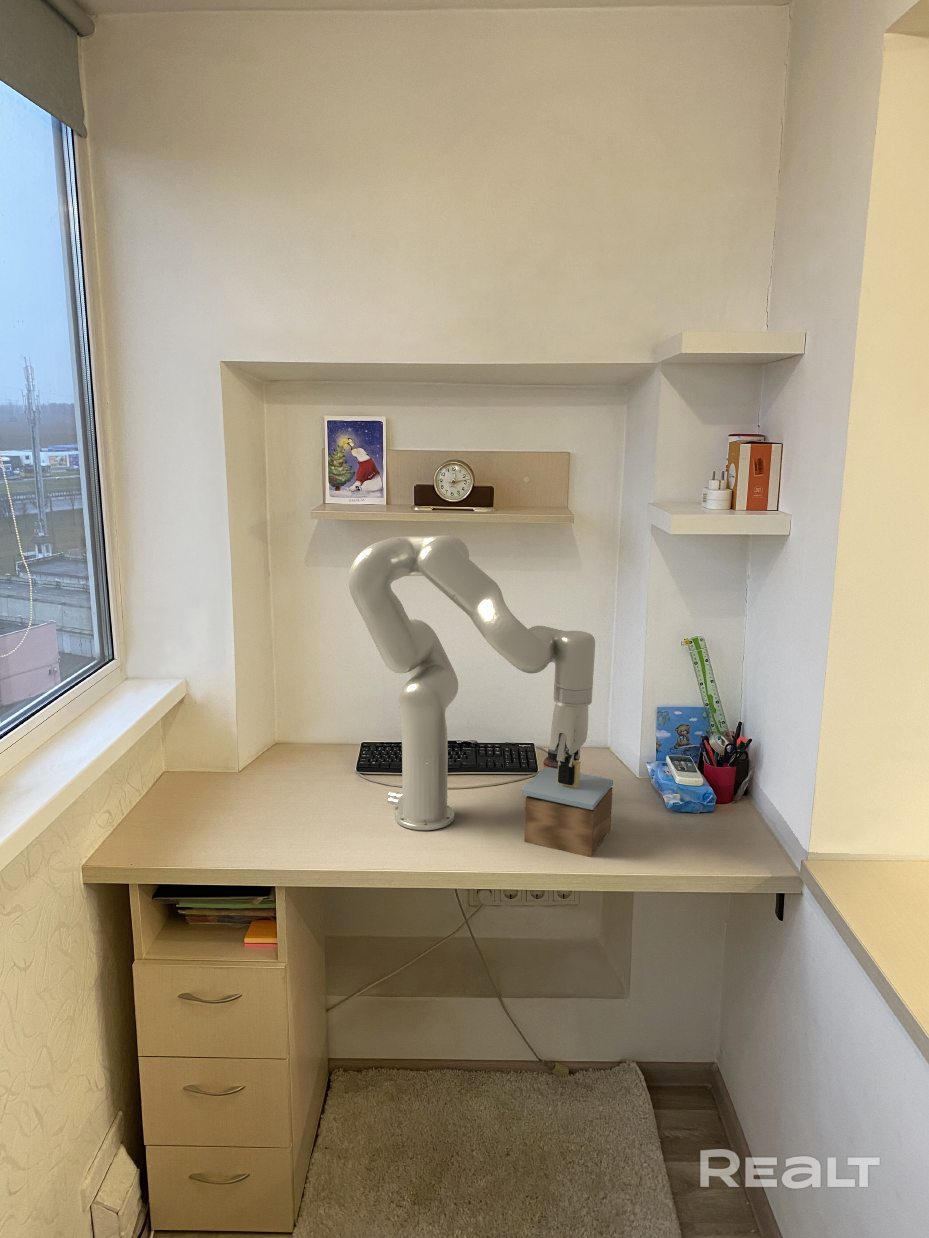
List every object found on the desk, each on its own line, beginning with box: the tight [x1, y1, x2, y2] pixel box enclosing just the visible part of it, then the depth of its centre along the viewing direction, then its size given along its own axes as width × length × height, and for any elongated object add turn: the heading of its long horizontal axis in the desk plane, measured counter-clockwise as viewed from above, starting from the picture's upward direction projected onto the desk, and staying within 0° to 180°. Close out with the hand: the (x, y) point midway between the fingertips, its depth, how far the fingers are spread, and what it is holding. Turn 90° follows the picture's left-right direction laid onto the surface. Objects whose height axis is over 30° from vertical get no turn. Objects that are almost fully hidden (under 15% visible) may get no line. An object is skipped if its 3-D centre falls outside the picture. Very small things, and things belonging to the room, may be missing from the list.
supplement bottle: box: [542, 747, 559, 769], centre depth 194 cm, size 6×6×11 cm
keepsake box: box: [523, 787, 613, 858], centre depth 175 cm, size 14×13×10 cm
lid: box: [520, 760, 614, 810], centre depth 173 cm, size 15×14×6 cm
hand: (568, 780), depth 174 cm, fingers closed on lid
